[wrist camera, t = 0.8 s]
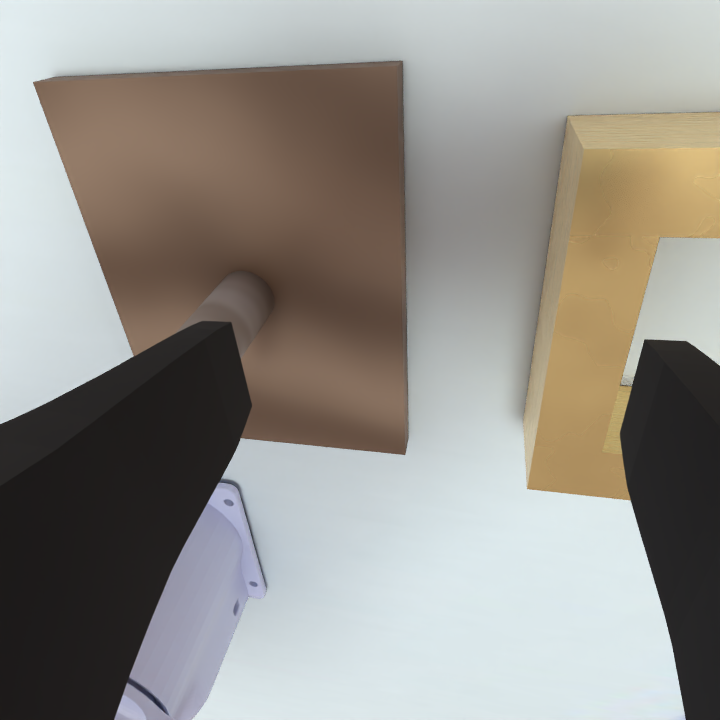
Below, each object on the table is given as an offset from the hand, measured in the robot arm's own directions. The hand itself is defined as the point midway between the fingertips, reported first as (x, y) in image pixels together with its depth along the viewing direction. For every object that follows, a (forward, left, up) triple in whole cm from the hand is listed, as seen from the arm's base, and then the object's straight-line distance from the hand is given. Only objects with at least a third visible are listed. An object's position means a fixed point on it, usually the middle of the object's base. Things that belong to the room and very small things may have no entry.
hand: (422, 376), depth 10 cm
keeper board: (-3, +7, -9) cm, 12 cm away
